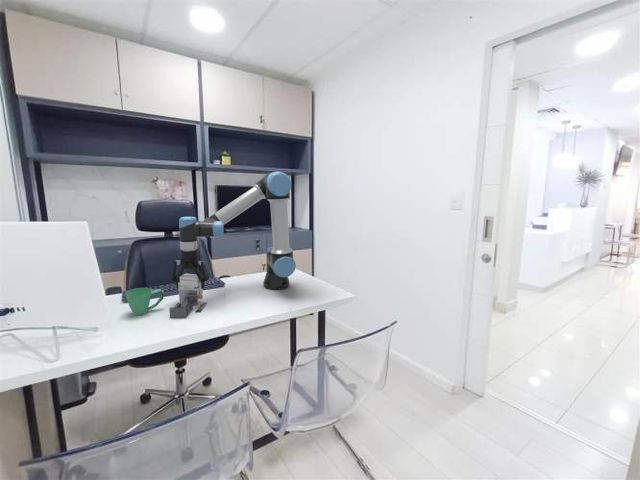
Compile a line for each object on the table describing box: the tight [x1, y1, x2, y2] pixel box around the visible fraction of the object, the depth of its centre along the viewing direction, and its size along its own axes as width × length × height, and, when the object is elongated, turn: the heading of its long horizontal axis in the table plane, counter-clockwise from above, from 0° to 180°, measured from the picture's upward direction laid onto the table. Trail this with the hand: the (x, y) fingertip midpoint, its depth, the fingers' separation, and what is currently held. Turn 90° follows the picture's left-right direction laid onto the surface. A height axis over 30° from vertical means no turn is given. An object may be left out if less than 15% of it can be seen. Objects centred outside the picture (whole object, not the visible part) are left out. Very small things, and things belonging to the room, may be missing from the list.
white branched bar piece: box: [178, 290, 203, 307], centre depth 138 cm, size 11×8×7 cm
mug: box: [125, 287, 165, 316], centre depth 132 cm, size 15×10×10 cm
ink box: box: [180, 273, 201, 300], centre depth 144 cm, size 9×5×12 cm, turn 84°
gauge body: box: [169, 301, 208, 319], centre depth 136 cm, size 11×17×4 cm
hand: (191, 294), depth 145 cm, fingers closed on ink box, 9 cm apart
